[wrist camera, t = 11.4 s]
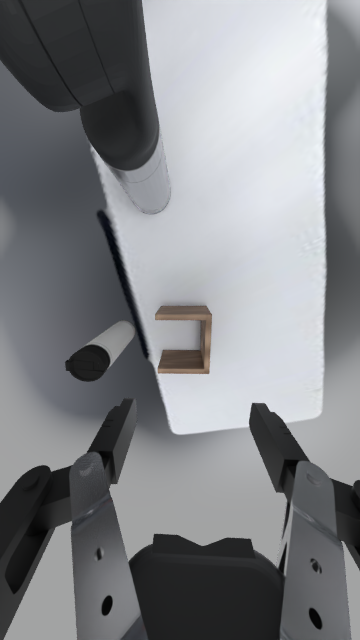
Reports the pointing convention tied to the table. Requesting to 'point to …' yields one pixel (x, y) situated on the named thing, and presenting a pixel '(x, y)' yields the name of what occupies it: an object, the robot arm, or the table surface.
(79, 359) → the travel mug
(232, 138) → the table surface
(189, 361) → the wooden u-shaped bracket
